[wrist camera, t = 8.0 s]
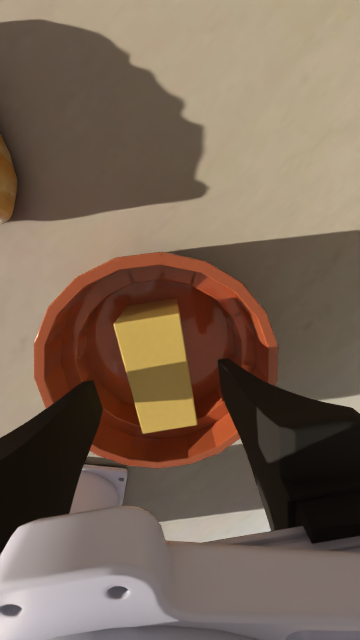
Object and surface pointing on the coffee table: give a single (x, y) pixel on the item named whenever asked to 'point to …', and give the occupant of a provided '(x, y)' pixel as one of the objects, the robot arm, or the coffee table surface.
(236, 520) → the coffee table surface
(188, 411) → the butter
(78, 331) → the bowl
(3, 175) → the pastry
